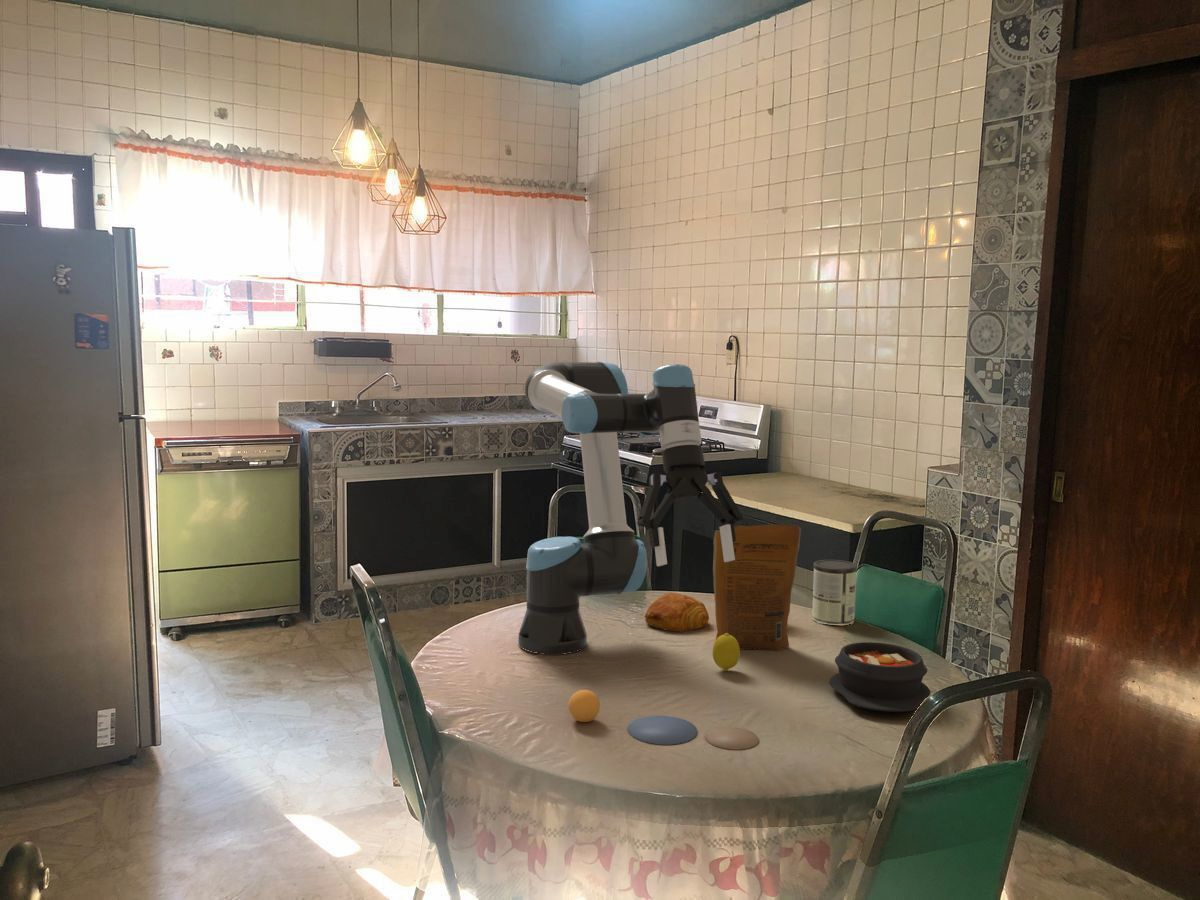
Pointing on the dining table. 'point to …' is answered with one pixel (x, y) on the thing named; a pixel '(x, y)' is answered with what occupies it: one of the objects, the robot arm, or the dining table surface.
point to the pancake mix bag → (756, 585)
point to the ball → (584, 705)
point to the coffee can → (834, 591)
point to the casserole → (880, 677)
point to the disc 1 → (662, 730)
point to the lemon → (726, 651)
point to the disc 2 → (732, 738)
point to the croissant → (676, 613)
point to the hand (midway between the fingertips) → (696, 563)
